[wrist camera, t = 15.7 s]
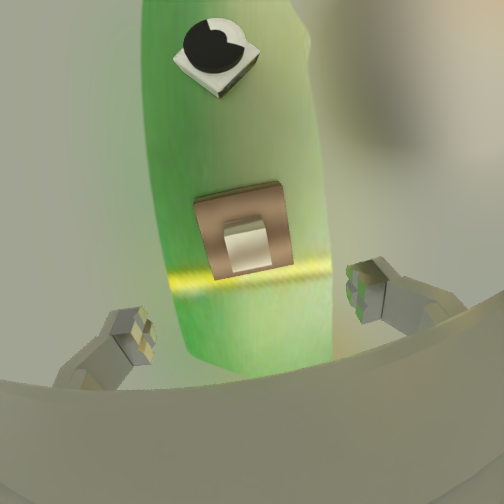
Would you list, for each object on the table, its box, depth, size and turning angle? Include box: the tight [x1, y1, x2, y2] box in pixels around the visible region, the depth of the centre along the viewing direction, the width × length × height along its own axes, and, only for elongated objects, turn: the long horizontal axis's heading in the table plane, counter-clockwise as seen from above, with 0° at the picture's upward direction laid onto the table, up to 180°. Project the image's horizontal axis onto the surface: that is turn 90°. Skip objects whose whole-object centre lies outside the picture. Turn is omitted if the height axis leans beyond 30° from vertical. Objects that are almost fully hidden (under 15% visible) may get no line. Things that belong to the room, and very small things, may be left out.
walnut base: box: [193, 181, 294, 280], centre depth 39 cm, size 12×12×3 cm
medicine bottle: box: [173, 18, 260, 99], centre depth 25 cm, size 7×7×12 cm
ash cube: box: [224, 215, 272, 273], centre depth 36 cm, size 5×5×5 cm
